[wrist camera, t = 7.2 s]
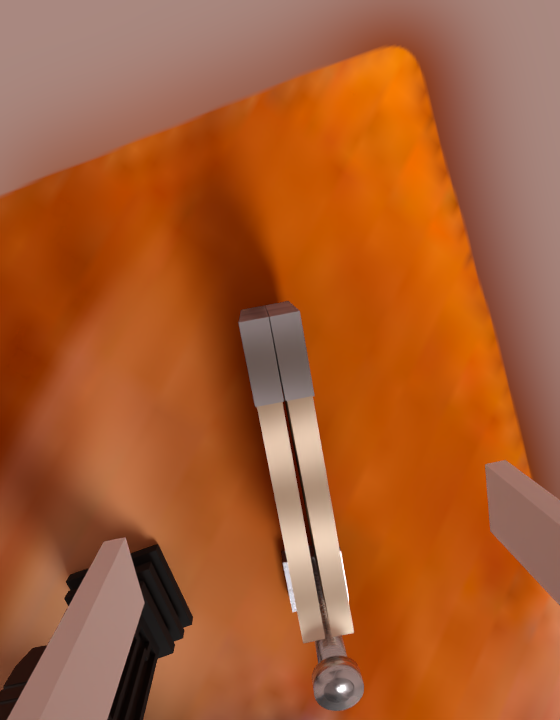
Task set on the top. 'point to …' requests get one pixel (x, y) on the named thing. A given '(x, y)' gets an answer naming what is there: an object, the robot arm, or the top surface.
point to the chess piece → (146, 630)
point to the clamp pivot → (330, 656)
